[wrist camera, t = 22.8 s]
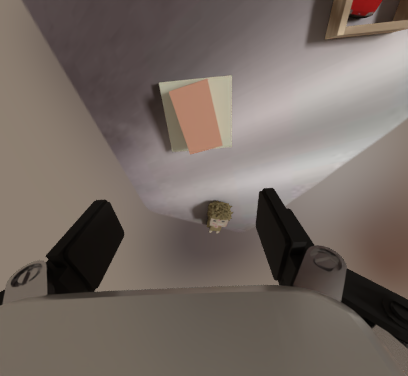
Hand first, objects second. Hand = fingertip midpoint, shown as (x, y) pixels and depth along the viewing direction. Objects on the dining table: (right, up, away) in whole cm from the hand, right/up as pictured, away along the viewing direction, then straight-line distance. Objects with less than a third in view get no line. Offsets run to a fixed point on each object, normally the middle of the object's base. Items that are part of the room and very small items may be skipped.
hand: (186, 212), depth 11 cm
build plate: (0, +17, +27) cm, 32 cm away
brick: (0, +17, +25) cm, 30 cm away
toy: (+5, -14, +48) cm, 50 cm away
